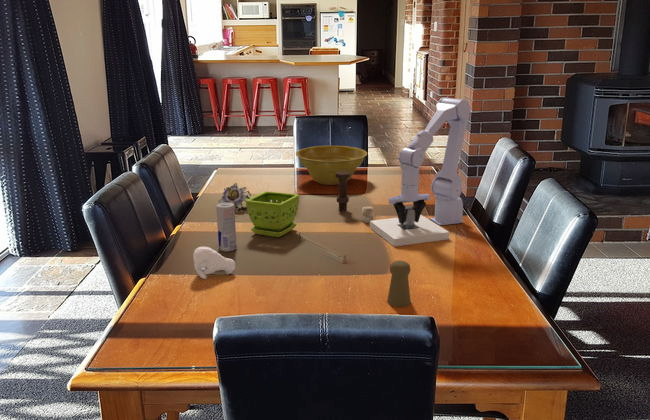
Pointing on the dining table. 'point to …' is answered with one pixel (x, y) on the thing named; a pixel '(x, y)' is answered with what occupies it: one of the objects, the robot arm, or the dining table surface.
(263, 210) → the flower pot
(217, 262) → the white rounded lumpy piece
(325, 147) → the planter bowl
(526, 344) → the dining table surface
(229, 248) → the beverage can
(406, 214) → the long pin
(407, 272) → the pepper shaker
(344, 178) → the bolt
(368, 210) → the short pin
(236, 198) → the passion flower
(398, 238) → the hole plate
